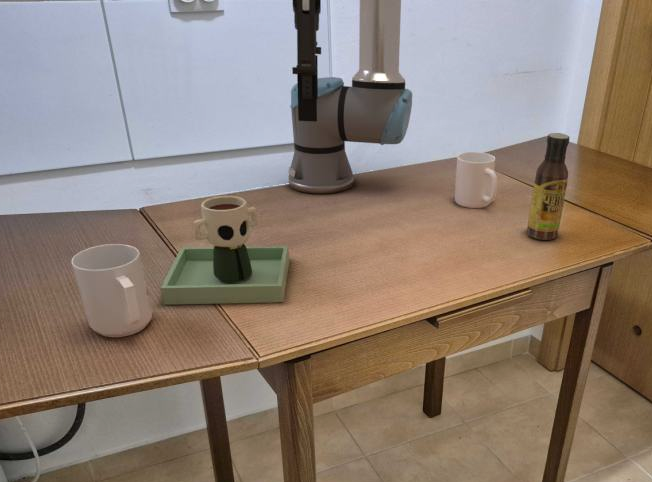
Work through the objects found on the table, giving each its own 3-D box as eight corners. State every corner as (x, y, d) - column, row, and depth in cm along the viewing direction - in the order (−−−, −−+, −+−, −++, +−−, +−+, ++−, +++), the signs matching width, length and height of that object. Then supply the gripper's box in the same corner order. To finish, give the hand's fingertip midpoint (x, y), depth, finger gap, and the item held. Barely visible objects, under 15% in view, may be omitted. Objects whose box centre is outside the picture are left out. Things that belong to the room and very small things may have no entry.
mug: (81, 322, 96) (62, 254, 90) (140, 304, 101) (125, 238, 95) (111, 356, 89) (92, 284, 83) (173, 335, 94) (159, 266, 88)
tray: (183, 262, 114) (181, 247, 113) (289, 261, 116) (288, 245, 115) (163, 304, 101) (160, 288, 100) (283, 302, 103) (281, 285, 101)
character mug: (213, 293, 103) (201, 217, 96) (193, 278, 108) (181, 203, 101) (272, 275, 109) (265, 202, 102) (252, 261, 114) (244, 190, 107)
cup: (476, 193, 150) (480, 150, 144) (508, 210, 141) (514, 164, 136) (447, 199, 146) (449, 154, 141) (478, 216, 137) (482, 169, 132)
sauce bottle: (537, 243, 126) (552, 141, 115) (520, 232, 131) (533, 132, 120) (564, 239, 128) (581, 137, 118) (546, 228, 133) (561, 129, 122)
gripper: (334, -42, 79) (333, 132, 91) (332, -54, 99) (332, 90, 111) (272, -47, 78) (279, 130, 90) (283, -57, 98) (288, 88, 110)
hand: (308, 108), depth 100 cm, fingers open, 13 cm apart
